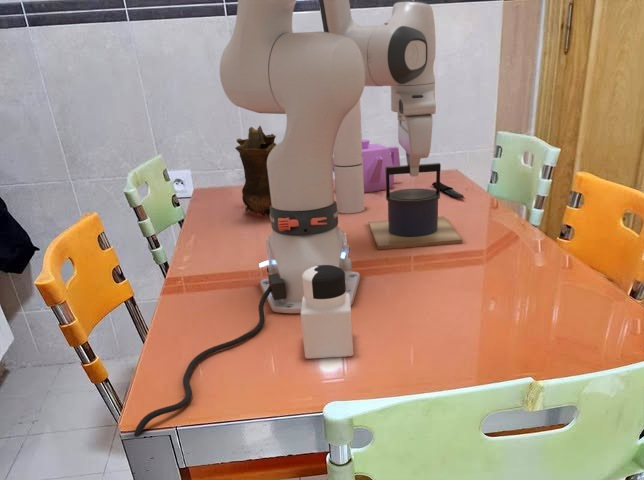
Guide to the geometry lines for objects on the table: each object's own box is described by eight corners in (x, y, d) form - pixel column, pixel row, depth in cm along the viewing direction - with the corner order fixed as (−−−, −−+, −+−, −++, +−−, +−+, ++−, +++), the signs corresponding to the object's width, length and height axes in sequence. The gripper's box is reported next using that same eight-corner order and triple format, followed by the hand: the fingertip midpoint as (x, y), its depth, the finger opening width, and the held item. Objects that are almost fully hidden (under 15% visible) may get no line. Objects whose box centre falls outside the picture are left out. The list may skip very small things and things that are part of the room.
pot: (444, 235, 141) (445, 168, 133) (390, 239, 140) (389, 172, 133) (434, 221, 151) (435, 158, 143) (383, 225, 150) (382, 162, 142)
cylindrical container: (365, 206, 169) (361, 95, 154) (363, 213, 163) (358, 98, 149) (338, 206, 170) (331, 96, 155) (335, 213, 164) (327, 100, 149)
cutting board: (461, 243, 138) (462, 239, 138) (378, 249, 137) (378, 245, 137) (443, 219, 155) (443, 216, 154) (368, 225, 154) (368, 221, 153)
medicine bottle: (352, 337, 101) (347, 259, 94) (353, 356, 95) (348, 275, 88) (306, 339, 101) (298, 262, 94) (305, 359, 95) (296, 279, 88)
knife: (431, 182, 183) (441, 180, 183) (431, 187, 184) (441, 185, 184) (458, 196, 166) (469, 195, 167) (458, 202, 167) (469, 200, 168)
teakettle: (403, 182, 190) (402, 135, 183) (382, 195, 178) (380, 145, 170) (350, 180, 196) (347, 134, 189) (326, 193, 183) (322, 144, 176)
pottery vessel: (288, 222, 159) (278, 132, 147) (243, 226, 158) (230, 135, 147) (285, 199, 179) (276, 118, 168) (245, 202, 178) (234, 121, 167)
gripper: (390, 96, 139) (392, 166, 147) (404, 106, 122) (405, 185, 131) (419, 94, 139) (419, 164, 147) (437, 104, 123) (436, 183, 131)
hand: (412, 174), depth 139 cm, fingers closed on pot
